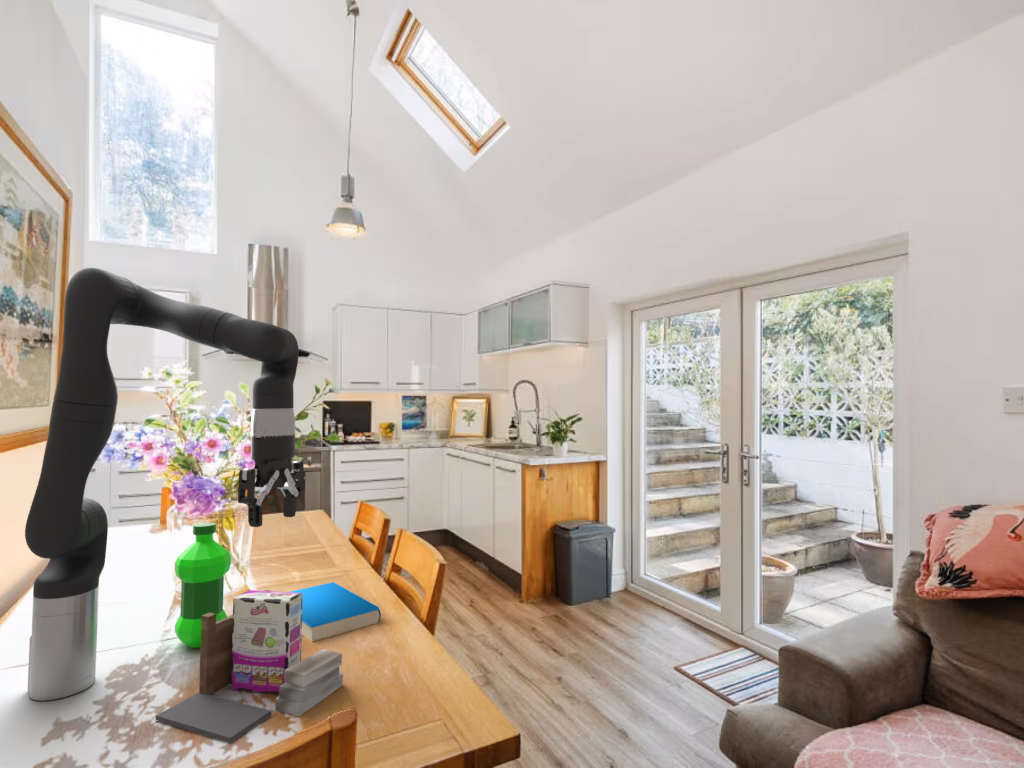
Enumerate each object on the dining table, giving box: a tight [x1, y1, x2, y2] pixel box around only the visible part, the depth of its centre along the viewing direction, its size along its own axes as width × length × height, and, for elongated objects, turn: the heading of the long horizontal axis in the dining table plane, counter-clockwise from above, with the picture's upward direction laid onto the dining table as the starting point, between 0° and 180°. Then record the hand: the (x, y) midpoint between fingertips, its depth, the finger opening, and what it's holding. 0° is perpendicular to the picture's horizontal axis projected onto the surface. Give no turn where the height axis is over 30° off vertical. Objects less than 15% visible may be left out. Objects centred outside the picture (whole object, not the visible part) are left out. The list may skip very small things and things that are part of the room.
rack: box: [198, 589, 270, 696], centre depth 103 cm, size 2×15×14 cm, turn 159°
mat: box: [155, 691, 272, 744], centre depth 90 cm, size 16×8×1 cm, turn 69°
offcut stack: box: [275, 648, 344, 717], centre depth 96 cm, size 5×11×6 cm, turn 159°
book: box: [289, 581, 382, 642], centre depth 134 cm, size 17×4×25 cm
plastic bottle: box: [174, 522, 232, 649], centre depth 119 cm, size 10×10×25 cm
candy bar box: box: [230, 589, 302, 695], centre depth 100 cm, size 11×5×16 cm, turn 80°
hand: (273, 521), depth 102 cm, fingers open, 8 cm apart
